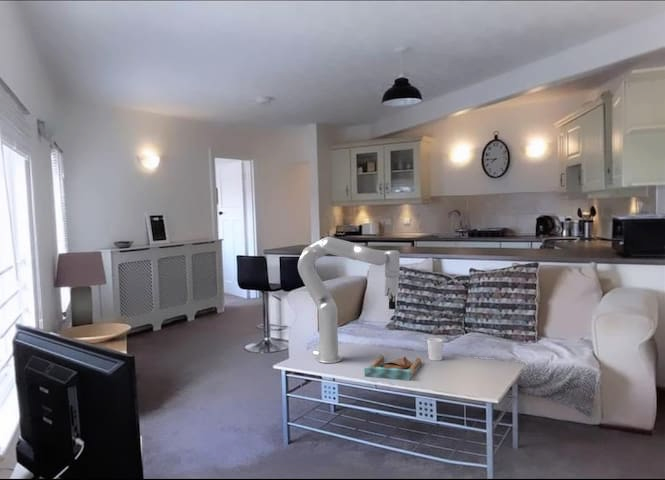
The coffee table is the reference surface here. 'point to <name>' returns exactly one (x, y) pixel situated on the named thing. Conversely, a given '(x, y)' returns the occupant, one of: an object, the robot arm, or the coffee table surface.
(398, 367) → the brown elongated piece
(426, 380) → the coffee table surface
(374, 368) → the teal open box
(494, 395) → the coffee table surface
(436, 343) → the white cup
